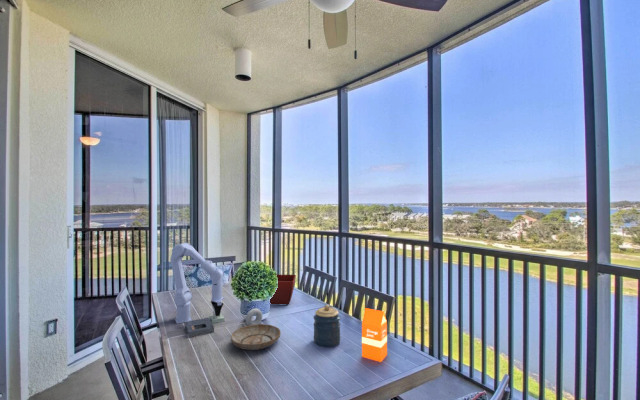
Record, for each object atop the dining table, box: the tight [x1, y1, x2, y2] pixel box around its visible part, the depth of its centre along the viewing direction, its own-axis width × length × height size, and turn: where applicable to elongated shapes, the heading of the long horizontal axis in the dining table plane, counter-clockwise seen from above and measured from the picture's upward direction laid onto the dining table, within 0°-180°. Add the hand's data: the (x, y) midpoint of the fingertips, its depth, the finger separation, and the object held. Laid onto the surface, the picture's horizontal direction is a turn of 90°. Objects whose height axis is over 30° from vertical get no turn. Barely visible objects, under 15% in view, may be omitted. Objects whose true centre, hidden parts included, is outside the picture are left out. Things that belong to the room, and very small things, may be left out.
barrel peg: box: [212, 306, 222, 318], centre depth 171 cm, size 4×4×7 cm
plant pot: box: [269, 274, 297, 305], centre depth 204 cm, size 19×19×17 cm
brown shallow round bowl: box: [230, 323, 281, 351], centre depth 143 cm, size 23×24×5 cm
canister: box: [313, 304, 341, 348], centre depth 144 cm, size 13×13×18 cm
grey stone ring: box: [245, 308, 263, 326], centre depth 162 cm, size 10×4×10 cm, turn 135°
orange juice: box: [361, 307, 388, 363], centre depth 131 cm, size 8×9×20 cm
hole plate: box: [184, 317, 215, 338], centre depth 159 cm, size 16×12×3 cm
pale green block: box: [208, 313, 225, 325], centre depth 171 cm, size 7×7×2 cm
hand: (216, 314), depth 171 cm, fingers closed on barrel peg, 4 cm apart
